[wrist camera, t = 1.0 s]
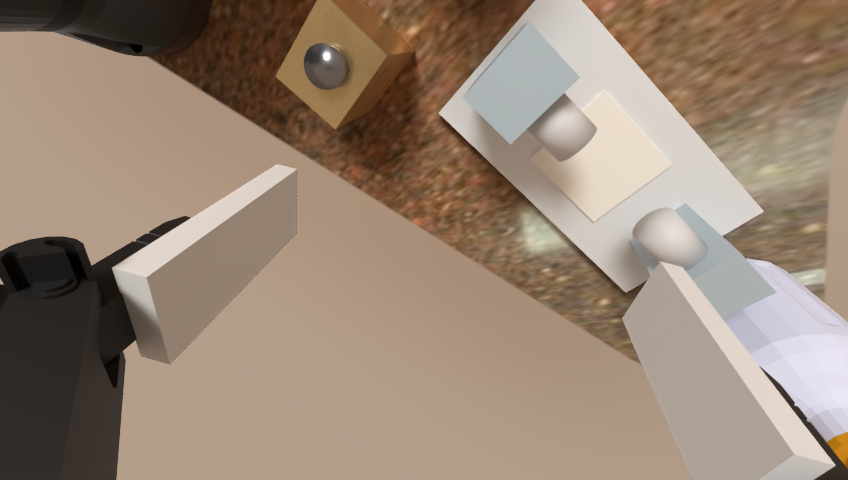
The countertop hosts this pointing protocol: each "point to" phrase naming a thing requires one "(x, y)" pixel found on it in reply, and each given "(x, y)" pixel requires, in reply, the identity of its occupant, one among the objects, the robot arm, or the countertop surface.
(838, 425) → the soap bottle
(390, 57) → the block
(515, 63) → the shaft rig
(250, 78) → the countertop surface
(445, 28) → the countertop surface
